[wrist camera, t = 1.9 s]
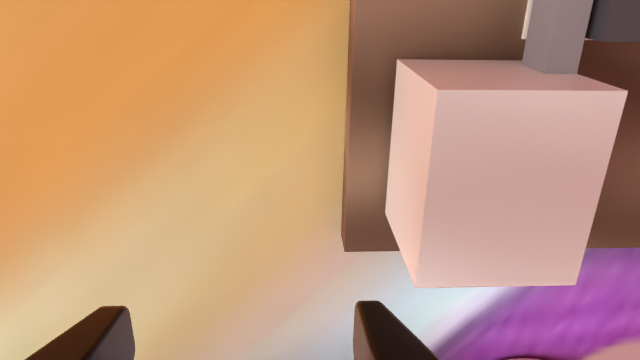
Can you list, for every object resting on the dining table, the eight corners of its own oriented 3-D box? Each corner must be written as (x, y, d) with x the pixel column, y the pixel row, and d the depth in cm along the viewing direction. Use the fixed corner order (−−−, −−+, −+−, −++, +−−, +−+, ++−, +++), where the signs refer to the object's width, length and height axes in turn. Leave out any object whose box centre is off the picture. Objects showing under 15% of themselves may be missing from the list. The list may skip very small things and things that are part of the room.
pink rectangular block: (507, 211, 19) (575, 285, 15) (385, 213, 19) (415, 288, 14) (560, -66, 15) (675, -86, 11) (407, -70, 15) (457, -92, 10)
